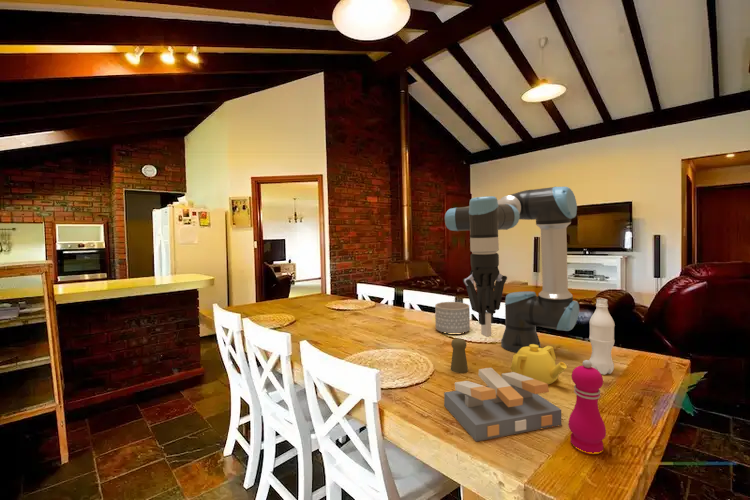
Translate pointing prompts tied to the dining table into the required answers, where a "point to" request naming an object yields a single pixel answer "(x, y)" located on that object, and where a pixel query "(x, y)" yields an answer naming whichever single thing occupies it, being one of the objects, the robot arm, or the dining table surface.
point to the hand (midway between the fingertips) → (486, 335)
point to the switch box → (501, 414)
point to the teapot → (537, 363)
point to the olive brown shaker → (459, 356)
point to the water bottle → (602, 338)
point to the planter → (452, 317)
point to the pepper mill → (587, 409)
